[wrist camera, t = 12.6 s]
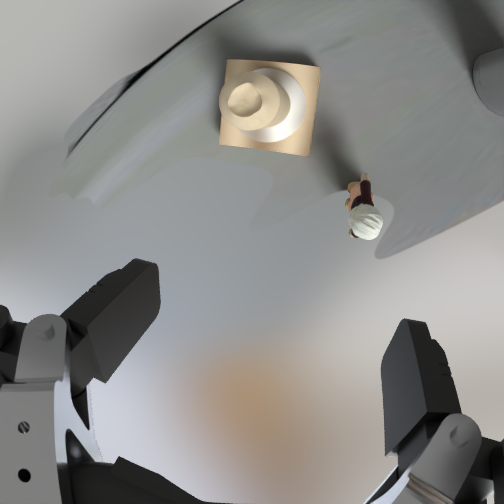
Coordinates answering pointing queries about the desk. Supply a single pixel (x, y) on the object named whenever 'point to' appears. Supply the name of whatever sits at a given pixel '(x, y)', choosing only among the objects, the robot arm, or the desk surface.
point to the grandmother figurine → (363, 210)
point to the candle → (253, 101)
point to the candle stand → (300, 115)
